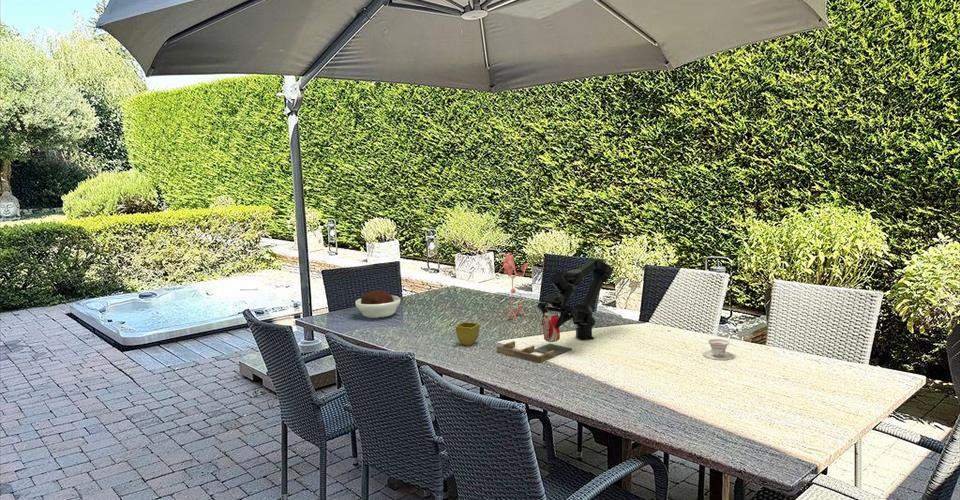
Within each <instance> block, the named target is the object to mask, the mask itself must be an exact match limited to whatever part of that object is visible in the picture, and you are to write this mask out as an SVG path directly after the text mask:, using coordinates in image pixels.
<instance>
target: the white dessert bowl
mask: <svg viewBox="0 0 960 500" xmlns="http://www.w3.org/2000/svg"><path fill="white" fill-rule="evenodd" d="M400 303H401V298H400V297H399V296H397V295H392V294H390V293H389V292H388V293H387V291H386V290H371V291H369V292H365V293H364V294H363V295H362V296H361V298H358V299H356V300H355V306H356V308H357V309H358V310H359V311H360V313H361V314H362V316H363V317H365V318H371V319H380V318H379V317H382V318H386V317H389V316H392V315H393V314H395V312H396V310H397V308H398V307H399V305H400Z"/></svg>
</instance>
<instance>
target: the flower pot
mask: <svg viewBox="0 0 960 500" xmlns="http://www.w3.org/2000/svg"><path fill="white" fill-rule="evenodd" d="M480 326H481V323H479V322H468V321H463V322H460V323H459V324H457V325H455V326H454V327H455V334H456V337H457V340H458V342H459V343H460V345H462V344H463V346H464V345H465V346H472V345H474V344H475V343H476V341H478V338H479V335H480V328H481V327H480Z"/></svg>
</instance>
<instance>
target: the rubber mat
mask: <svg viewBox="0 0 960 500" xmlns="http://www.w3.org/2000/svg"><path fill="white" fill-rule="evenodd" d="M552 350H554V351H555V357H557V356H560V355H562V354H564V353H567V352H569V351H573V348H572V347H567V346H562V345H559V344H554V343H548V344H545V345H542V346H540V347H537V348H535V352H534V353H540V354H541V355H542V354H545V353H547V352H550V351H552Z"/></svg>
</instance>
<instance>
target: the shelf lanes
mask: <svg viewBox="0 0 960 500" xmlns="http://www.w3.org/2000/svg"><path fill="white" fill-rule="evenodd" d="M514 348H516V341H513V340H512V341H509V342H507V343H504V344H500V345H498V346H496V353H497V354H498V353H499V354H502V355H505V356H511V357H514V358H519V359H522V360H527V361H530V362H534V363H537V364H541V363H543V362H545V361H547V360H550V359H552V358H555V357H556V356H555V351H554V350H552V351H550V352H547V353H545V354H542V353H541V354H540V355H537V354H533V353H536V352H535V349H536V348H535V345H530V346H527V347H525V348H522V349H518V350H516V349H514Z"/></svg>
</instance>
